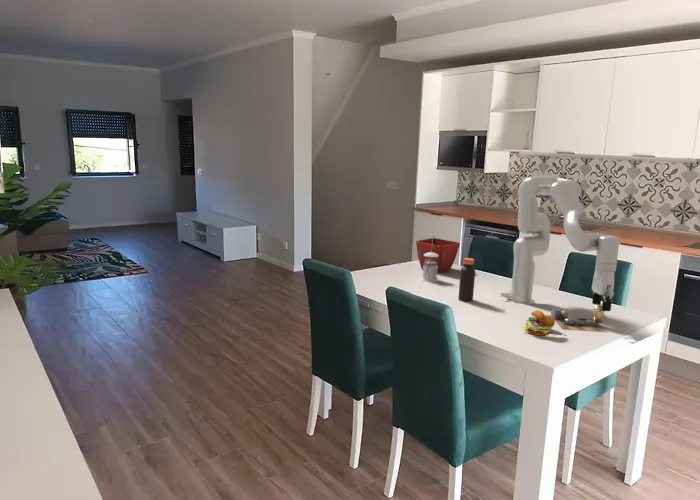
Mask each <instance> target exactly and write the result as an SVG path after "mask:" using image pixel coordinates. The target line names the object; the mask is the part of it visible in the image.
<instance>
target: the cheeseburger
mask: <svg viewBox="0 0 700 500" xmlns="http://www.w3.org/2000/svg"><path fill="white" fill-rule="evenodd" d="M530 314H531V317H530V316H529V317H528V318H527V319H526V321H525V322H524V324H523V325H524V326H523V330H524V333H525V334H527V333H528V334H530V335H534V336H539V337H546V336H548V335H549V333H550V331H551V330H552V327H554V326H555V323H556V322H555V320H554V318H553V317H552V316H551V314H544V312H543V311H542V310H539V309H535V310H534V311H532V312H531V313H530Z"/></svg>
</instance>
